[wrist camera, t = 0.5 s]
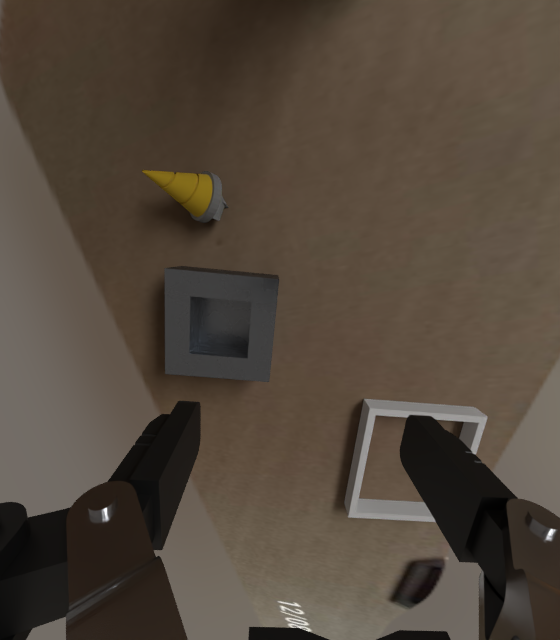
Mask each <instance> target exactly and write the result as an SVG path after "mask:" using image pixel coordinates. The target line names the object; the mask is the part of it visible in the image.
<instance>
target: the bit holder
mask: <svg viewBox="0 0 560 640" xmlns="http://www.w3.org/2000/svg"><path fill="white" fill-rule="evenodd" d="M278 284H279V277H278V275H269V274H259V273H249V272H238V271H228V270H218V269H207V268H197V267H187V266H178V267H170V268H165V374H173V375H185V376H198V377H211V378H224V379H237V380H250V381H263V382H269V378H270V368H271V358H272V347H273V337H274V326H275V316H276V305H277V295H278Z"/></svg>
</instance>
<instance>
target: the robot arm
mask: <svg viewBox="0 0 560 640" xmlns="http://www.w3.org/2000/svg"><path fill="white" fill-rule="evenodd" d="M199 446H200V402H190V401H178V403H177V404H176V406H175V407H174V409H173V410H172V412H171V414H161V415H160V416H158V417H157V418H156V419H154V420H153V421H151V422H150V423H149V424H148V426H147V427H146V429H145V430H144V431H143V433H142V436H140V437H139V438H138V440H137V441H136V443H135V445H133V447H132V448H131V450H130V451H129V453H128V454H127V455H126V457H125V458H124V459H123V461H122V462H121V464H120V465H119V466H118V468H117V469H116V471H115V472H114V473H113V475H112V476H111V478H110V479H109V480H108V482H106V483H103V484H100V485H98V486H96V487H93V488H92V489H90V490H88V491H87V492H86V493H84V494H83V495H82V496H81V497H79V498H78V499H77V500H76V502H74V504H73V505H72V506H71V507H70V508H67V509H63V510H59V511H55V512H51V513H46V514H42V515H37V516H33V517H29V518H28V517H27V512H26V509H25V507H24V506H23V505H21V504H19V503H16V502H6V503H0V640H26V638H27V637H28V635H29V633H30V632H31V630H32V628H35V627H37V626H40V625H43V624H46V623H49V622H52V621H55V620H57V619H60V618H63V617H66V640H187V636H186V633H185V630H184V626H183V623H182V620H181V617H180V614H179V611H178V608H177V605H176V602H175V598H174V595H173V592H172V589H171V586H170V583H169V580H168V577H167V573H166V571H165V567H164V564H163V562H162V560H161V558H160V557H159V556H158V557H156V556H155V553H154V550H162V549H163V546H164V544H165V541H166V538H167V536H168V533H169V530H170V528H171V525H172V522H173V519H174V516H175V514H176V511H177V509H178V506H179V503H180V501H181V498H182V495H183V492H184V490H185V487H186V484H187V482H188V479H189V476H190V474H191V471H192V468H193V465H194V463H195V460H196V457H197V454H198V451H199ZM400 458H401V462H402V465H403V467H404V469H405V470H406V472H407V474H408V475H409V477H410V479H411V480H412V482H413V484H414V486H415V487H416V489H417V491H418V492H419V494H420V496H421V497H422V499H423V501H424V502H425V504H426V506H427V508H428V509H429V511H430V513H431V514H432V516H433V518H434V519H435V521H436V523H437V525H438V526H439V528H440V530H441V531H442V533H443V535H444V536H445V538H446V540H447V541H448V543H449V545H450V547H451V548H452V550H453V552H454V553H455V555H456V557H457V558H458V560H459V562H474V563H478V564H479V566H480V567H481V569H482V571H481V573H480V576H479V640H560V518H559V517H558V516H556V515H555V514H554V513H552V512H550V511H549V510H547V509H546V508H544V507H542V506H540V505H538V504H536V503H533V502H530V501H527V500H524V499H518V498H517V497H516V496H515V495H514V494H513V493H512V492H511V491H510V490H509V489H508V488H507V487H506V486H505V485H504V484H503V483H502V482H501V481H500V480H499V479H498V478H497V477H496V476H495V475H494V473H493V472H492V471H491V470H490V469H489V468H488V467H487V466H486V465H485V464H483V463H482V462H481V460H480V459H479V458H478V457H477V456H476V455H475V454H473V453H472V451H471V450H470V449H469V448H468V447H467V446H466V445H465V444H464V443H463V442H462V441H461V440H460V439H459V438H457V437H456V436H454V435H453V434H451V433H450V432H448V431H447V430H445V429H444V428H443V427H442V426H441V425H440V424H439V423H438V422H437V421H436V420H435V419H434V418H433V417H432V416H425V415H409V416H408V418H407V420H406V425H405V429H404V433H403V438H402V442H401V446H400ZM249 640H329V639H326V638H324V637H321V636H318V635H316V634H313V633H311V632H308V631H305V630H303V629H300V628H276V627H249ZM377 640H450V637H449V635H448V633H447V632H445V631H403V630H399V631H397V632H394V633H392V634H389V635H387V636H385V637H382V638H379V639H377Z"/></svg>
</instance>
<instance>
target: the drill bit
mask: <svg viewBox="0 0 560 640" xmlns="http://www.w3.org/2000/svg"><path fill="white" fill-rule="evenodd" d="M142 172H143V173H144V174H146V175H147V176H148V177H149V178H150V179H151V180H153V181H154V182H155V183H156V184H157V185H159V186H160V187H161V188H162V189H163V190H164V191H165V192H167V193H168V194H169V195H170V196H171V197H173V198H174V199H175V200H176V201H177V202H178V203H180V204H181V205H182V206H183V207H184V208H185V209H187V210H188V211H189V212H190V215H191V217H192V218H193V219H194V220H197V221H199V222H202V223H206V222H208V221H210V220H211V219H212V218H213V219H216V220H218V221H220V218H221V215H222V212H223V209H224V207H225V208H228V206H227V204H226V202H225V201H224V199H223V197H222V185H221V181H220V179H219V177H218V176H216V175H215V174H213V173H211V172H209V171H204V172H202V173H201V174H193V173H179V172H176V173H175V174H174V172H165V171H149V170H142Z"/></svg>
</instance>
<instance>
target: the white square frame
mask: <svg viewBox="0 0 560 640" xmlns="http://www.w3.org/2000/svg"><path fill="white" fill-rule="evenodd" d="M376 415H380V416H394V417H408V416H409V415H425V416H432V417H433V418H434V419H435V420H449V421H463V422H464V423H463V427H462V430H461V433H460V437H459V439H460V440H461V441H462V442H463V443H464V444H465V445H466V446H467V447H468V448H469V449H470V450H471V451H472V453H473V454H475V455H476V452H477V449H478V446H479V443H480V440H481V437H482V434H483V430H484V427H485V424H486V421H487V418H488V417H487V416H486V415H484V414H483V413H482V412H481V411H479V410H478V409H477V408H475V407H466V406H453V405H440V404H426V403H413V402H400V401H387V400H374V399H364V401H363V406H362V412H361V417H360V422H359V427H358V433H357V438H356V443H355V448H354V454H353V459H352V464H351V469H350V475H349V480H348V485H347V490H346V496H345V501H344V504H345V507H346V511H347V514H348V517H353V518H372V519H390V520H408V521H427V522H436V521H435V519H434V518H433V516H432V514H431V513H430V511H429V509H428V508H427V506H426V504H425V502H410V501H393V500H375V499H359V494H360V489H361V484H362V479H363V474H364V469H365V465H366V460H367V455H368V450H369V445H370V440H371V435H372V431H373V426H374V421H375V416H376Z"/></svg>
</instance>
